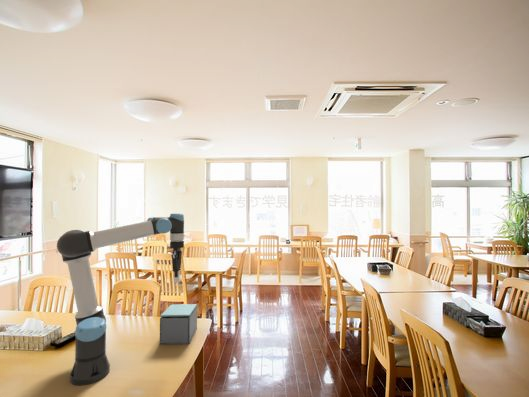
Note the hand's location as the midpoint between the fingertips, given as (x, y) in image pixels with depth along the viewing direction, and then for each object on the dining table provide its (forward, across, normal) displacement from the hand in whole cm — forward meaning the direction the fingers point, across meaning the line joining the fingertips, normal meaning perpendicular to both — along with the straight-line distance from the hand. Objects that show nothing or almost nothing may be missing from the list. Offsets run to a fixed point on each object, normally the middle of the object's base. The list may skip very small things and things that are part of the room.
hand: (176, 282), depth 159 cm
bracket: (+32, +6, 0) cm, 32 cm away
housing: (+32, +6, 0) cm, 33 cm away
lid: (+18, +7, 0) cm, 19 cm away
